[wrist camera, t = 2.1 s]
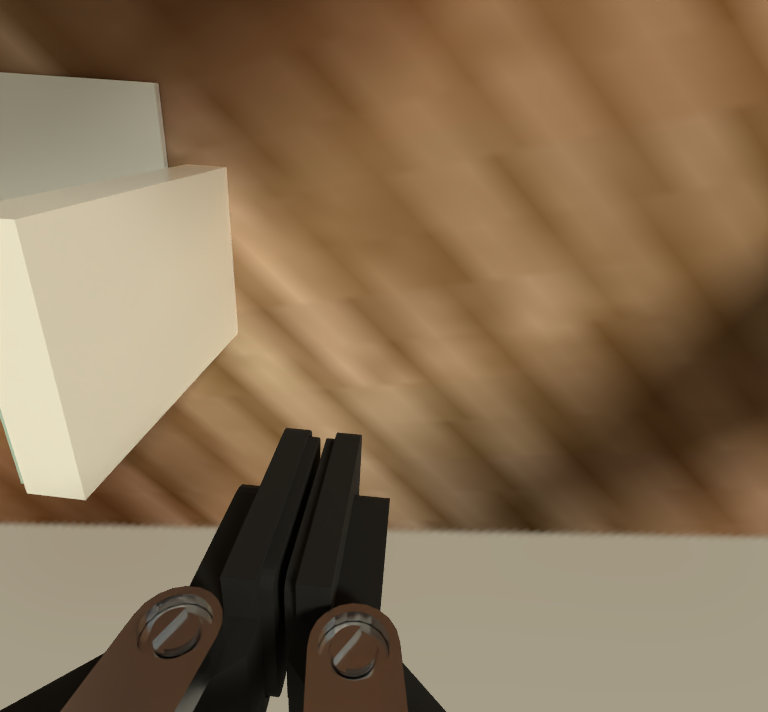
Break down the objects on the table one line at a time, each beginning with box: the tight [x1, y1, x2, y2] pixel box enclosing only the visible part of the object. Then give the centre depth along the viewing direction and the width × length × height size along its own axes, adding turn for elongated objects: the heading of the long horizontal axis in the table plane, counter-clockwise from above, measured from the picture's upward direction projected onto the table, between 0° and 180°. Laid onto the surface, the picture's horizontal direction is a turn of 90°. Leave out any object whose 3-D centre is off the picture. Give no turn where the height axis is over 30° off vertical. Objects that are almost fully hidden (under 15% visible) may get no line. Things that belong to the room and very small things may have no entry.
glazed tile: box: [0, 164, 238, 500], centre depth 21 cm, size 2×9×14 cm, turn 176°
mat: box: [0, 72, 168, 201], centre depth 27 cm, size 14×16×1 cm
